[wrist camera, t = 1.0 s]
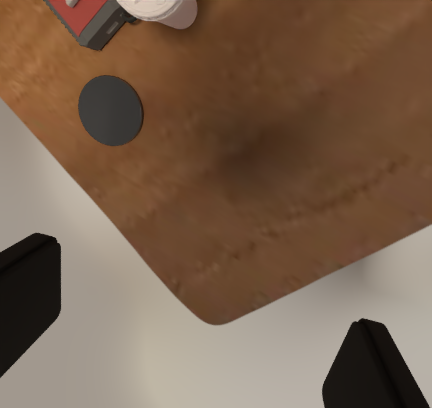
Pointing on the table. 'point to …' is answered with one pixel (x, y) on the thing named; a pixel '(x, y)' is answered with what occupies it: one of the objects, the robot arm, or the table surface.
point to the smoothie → (163, 11)
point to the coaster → (110, 110)
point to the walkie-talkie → (90, 19)
